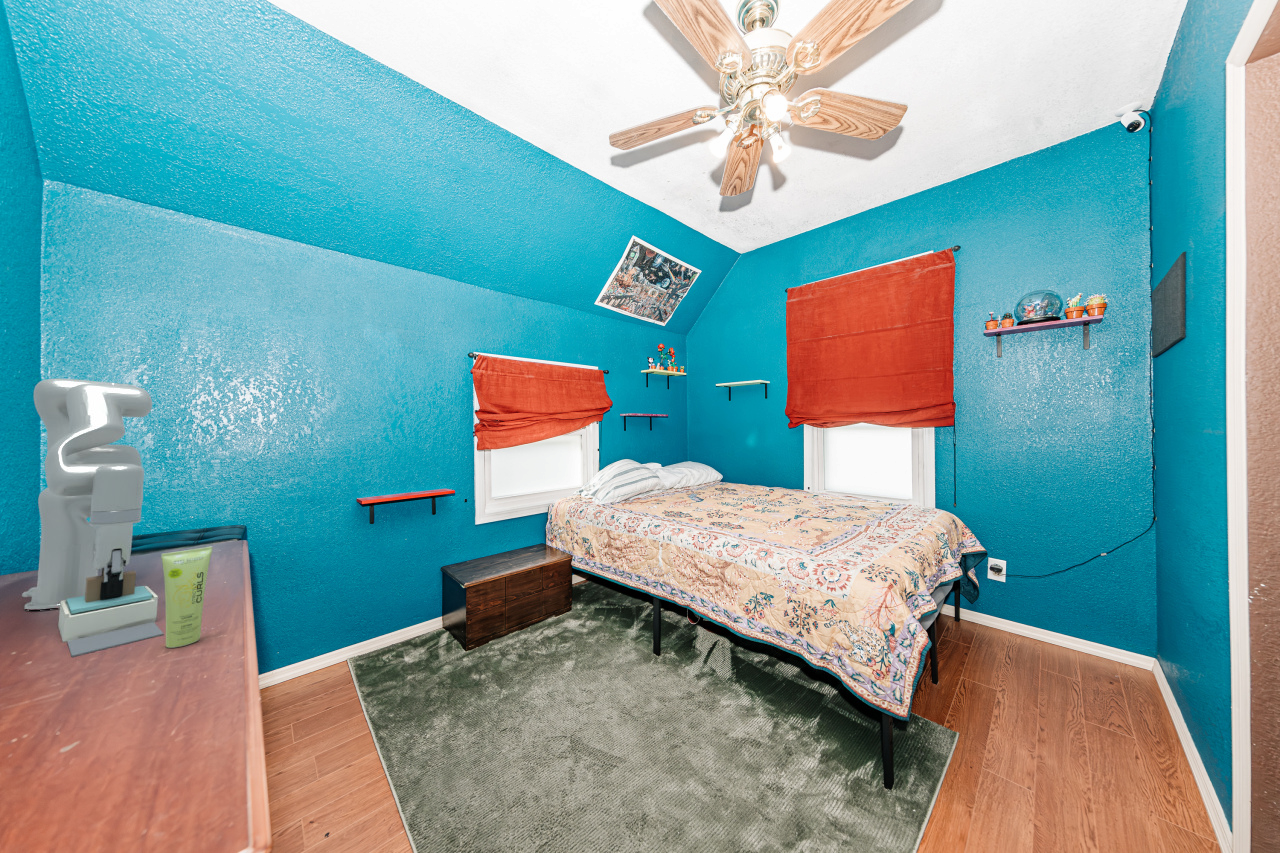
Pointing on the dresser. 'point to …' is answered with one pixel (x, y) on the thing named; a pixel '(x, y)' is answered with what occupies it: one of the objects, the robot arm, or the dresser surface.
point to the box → (106, 618)
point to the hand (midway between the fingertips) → (110, 595)
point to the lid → (94, 602)
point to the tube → (184, 594)
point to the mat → (113, 639)
